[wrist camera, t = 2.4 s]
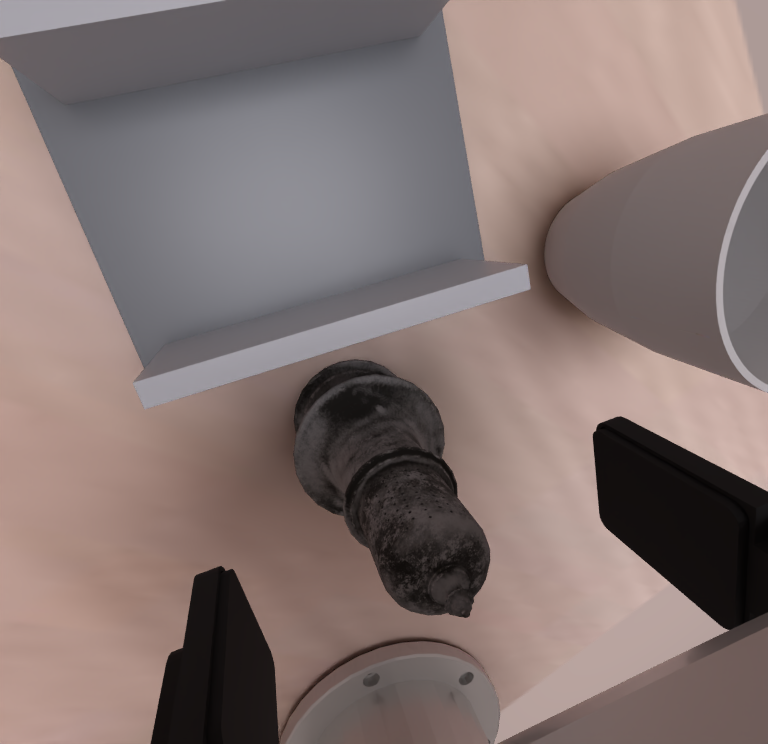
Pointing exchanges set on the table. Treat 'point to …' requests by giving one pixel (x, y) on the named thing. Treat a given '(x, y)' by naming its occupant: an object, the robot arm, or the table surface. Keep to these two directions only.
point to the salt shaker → (390, 484)
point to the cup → (677, 252)
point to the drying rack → (258, 173)
